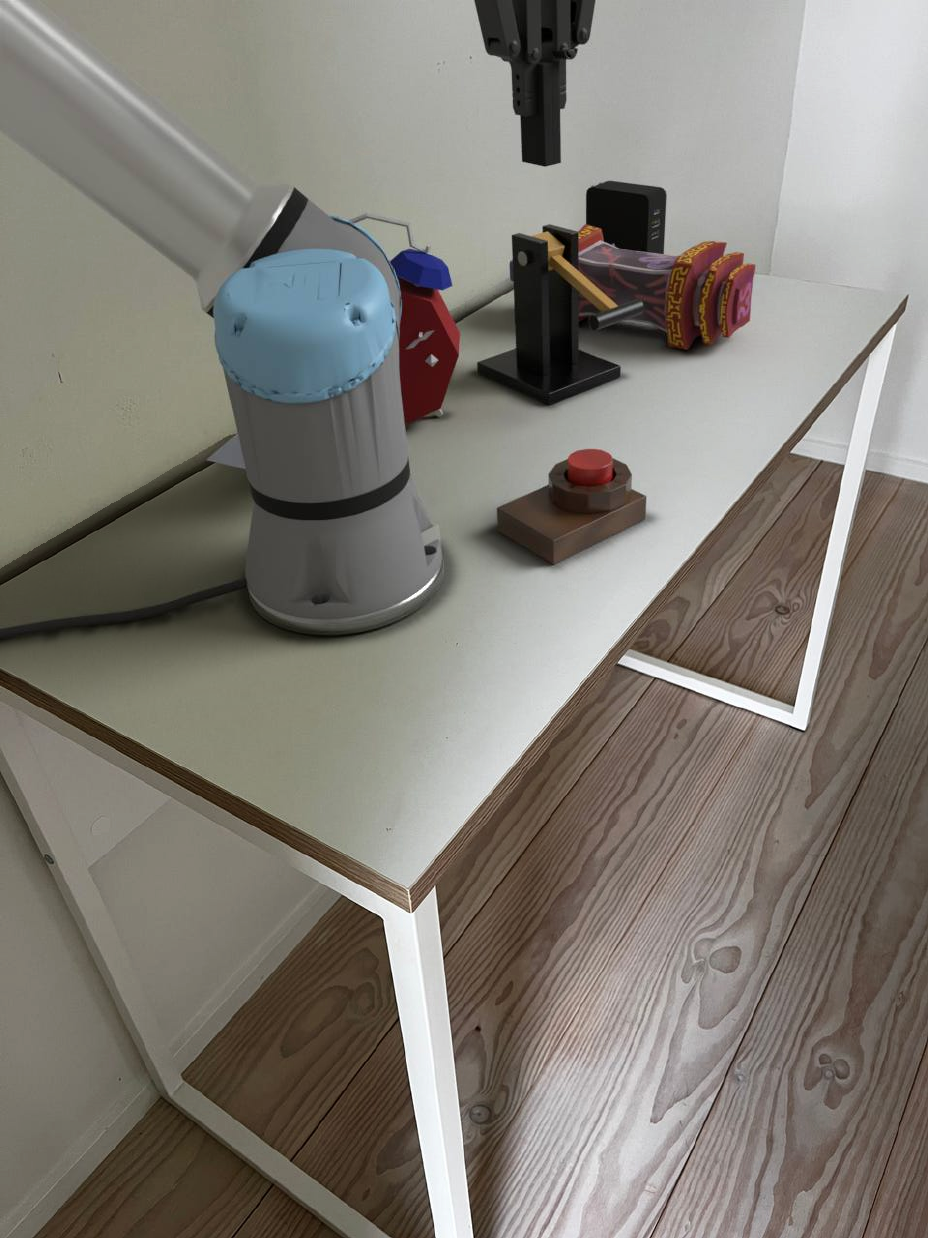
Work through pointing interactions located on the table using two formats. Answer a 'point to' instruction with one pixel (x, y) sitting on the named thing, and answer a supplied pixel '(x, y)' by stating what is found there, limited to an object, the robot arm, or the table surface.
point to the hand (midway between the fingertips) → (541, 161)
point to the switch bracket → (546, 327)
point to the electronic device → (628, 215)
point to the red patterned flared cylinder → (670, 286)
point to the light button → (590, 467)
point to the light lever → (589, 288)
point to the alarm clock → (423, 328)
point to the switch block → (572, 513)
